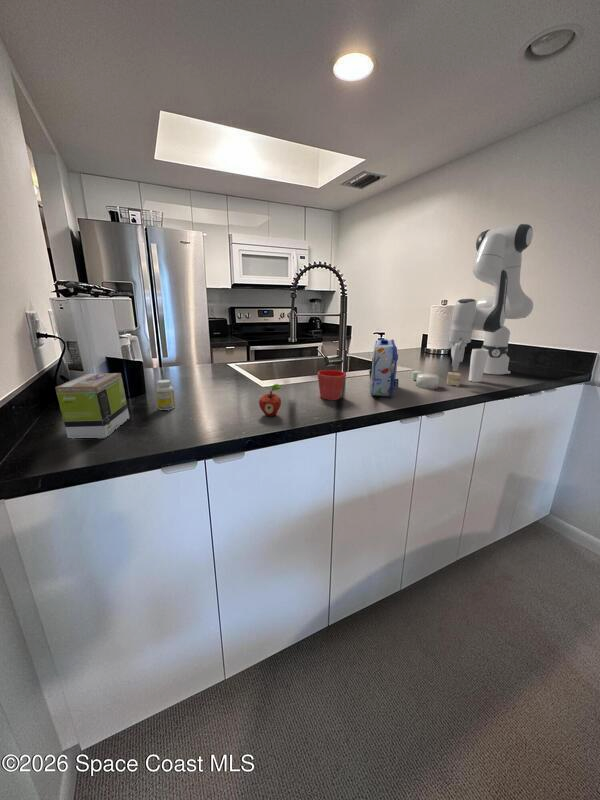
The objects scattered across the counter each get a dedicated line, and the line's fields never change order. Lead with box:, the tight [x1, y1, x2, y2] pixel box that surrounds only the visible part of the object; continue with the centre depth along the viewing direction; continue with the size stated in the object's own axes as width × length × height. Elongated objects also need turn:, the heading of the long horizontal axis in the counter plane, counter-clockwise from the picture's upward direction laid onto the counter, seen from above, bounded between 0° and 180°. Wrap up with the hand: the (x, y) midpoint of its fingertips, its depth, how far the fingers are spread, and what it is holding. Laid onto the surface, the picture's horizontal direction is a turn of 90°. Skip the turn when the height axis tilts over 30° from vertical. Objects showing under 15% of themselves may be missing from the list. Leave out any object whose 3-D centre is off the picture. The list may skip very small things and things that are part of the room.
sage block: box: [410, 370, 423, 381], centre depth 151 cm, size 4×4×4 cm
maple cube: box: [446, 371, 462, 387], centre depth 144 cm, size 5×5×5 cm
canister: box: [415, 372, 440, 390], centre depth 140 cm, size 9×9×5 cm
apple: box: [258, 383, 282, 417], centre depth 101 cm, size 8×7×10 cm
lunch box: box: [369, 338, 399, 398], centre depth 128 cm, size 28×10×22 cm, turn 168°
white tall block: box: [468, 348, 489, 383], centre depth 148 cm, size 7×7×15 cm
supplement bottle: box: [155, 379, 176, 411], centre depth 106 cm, size 5×5×10 cm
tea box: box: [54, 372, 130, 439], centre depth 88 cm, size 15×10×15 cm, turn 5°
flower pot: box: [317, 369, 347, 401], centre depth 121 cm, size 11×11×10 cm
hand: (454, 368), depth 142 cm, fingers open, 8 cm apart
